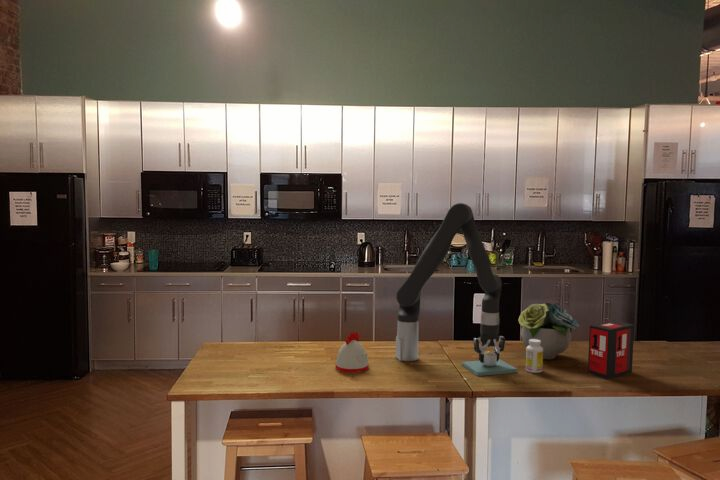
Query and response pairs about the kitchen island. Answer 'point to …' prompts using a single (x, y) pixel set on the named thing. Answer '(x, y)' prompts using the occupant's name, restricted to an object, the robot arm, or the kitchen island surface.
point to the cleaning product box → (610, 349)
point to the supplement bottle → (534, 356)
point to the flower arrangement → (547, 328)
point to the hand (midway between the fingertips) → (488, 361)
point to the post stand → (489, 367)
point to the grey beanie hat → (352, 355)
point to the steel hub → (490, 359)
